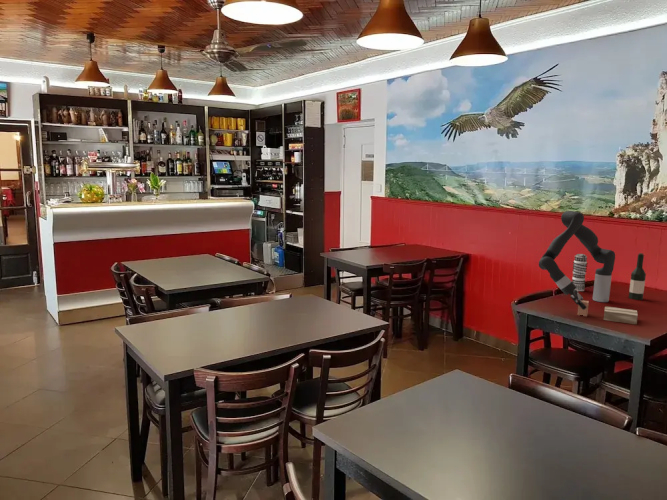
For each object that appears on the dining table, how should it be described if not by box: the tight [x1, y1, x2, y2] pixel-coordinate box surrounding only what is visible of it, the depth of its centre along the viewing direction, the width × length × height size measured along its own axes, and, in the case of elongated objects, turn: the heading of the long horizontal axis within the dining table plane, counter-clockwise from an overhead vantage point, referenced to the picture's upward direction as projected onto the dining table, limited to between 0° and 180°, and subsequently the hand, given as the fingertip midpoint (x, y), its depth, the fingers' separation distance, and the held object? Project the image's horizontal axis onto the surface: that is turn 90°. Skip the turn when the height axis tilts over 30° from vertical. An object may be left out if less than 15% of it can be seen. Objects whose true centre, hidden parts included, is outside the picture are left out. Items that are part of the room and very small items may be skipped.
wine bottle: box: [628, 252, 647, 301], centre depth 335 cm, size 8×8×30 cm
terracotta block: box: [577, 299, 590, 317], centre depth 296 cm, size 5×5×8 cm
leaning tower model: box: [571, 253, 588, 292], centre depth 357 cm, size 9×9×25 cm
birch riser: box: [603, 306, 639, 325], centre depth 289 cm, size 12×16×5 cm
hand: (585, 307), depth 295 cm, fingers open, 8 cm apart
